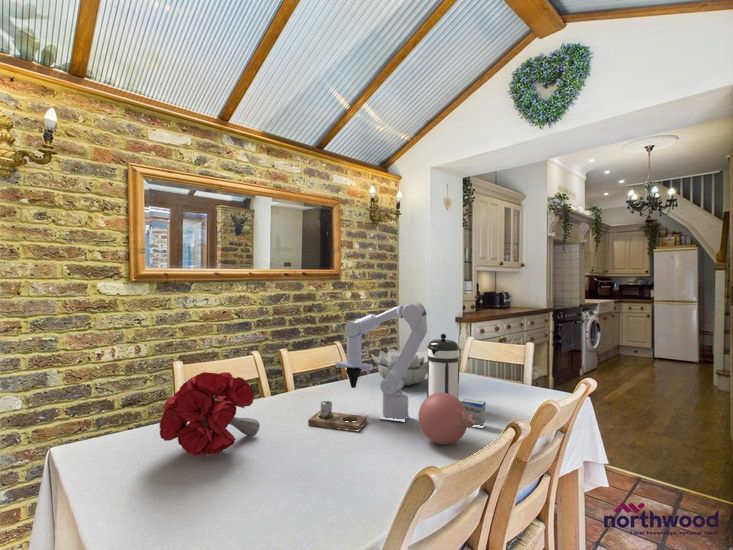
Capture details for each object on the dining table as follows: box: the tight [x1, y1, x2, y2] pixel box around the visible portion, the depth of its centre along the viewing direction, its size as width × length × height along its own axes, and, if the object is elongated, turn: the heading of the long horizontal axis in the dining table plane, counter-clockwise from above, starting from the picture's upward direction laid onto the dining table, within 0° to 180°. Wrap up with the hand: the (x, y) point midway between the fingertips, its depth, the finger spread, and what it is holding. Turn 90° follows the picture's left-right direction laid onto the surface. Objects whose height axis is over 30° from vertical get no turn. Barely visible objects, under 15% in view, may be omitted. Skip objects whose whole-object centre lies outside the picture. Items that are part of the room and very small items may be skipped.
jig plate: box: [307, 410, 368, 431], centre depth 137 cm, size 18×10×2 cm, turn 73°
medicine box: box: [460, 398, 486, 426], centre depth 137 cm, size 8×4×9 cm, turn 62°
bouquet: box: [159, 371, 261, 458], centre depth 116 cm, size 22×24×30 cm
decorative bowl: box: [371, 348, 428, 386], centre depth 193 cm, size 30×30×15 cm
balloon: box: [418, 393, 477, 445], centre depth 120 cm, size 15×20×15 cm
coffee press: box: [426, 333, 460, 399], centre depth 158 cm, size 17×16×30 cm
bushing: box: [320, 400, 333, 419], centre depth 138 cm, size 4×4×7 cm
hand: (353, 387), depth 150 cm, fingers closed
